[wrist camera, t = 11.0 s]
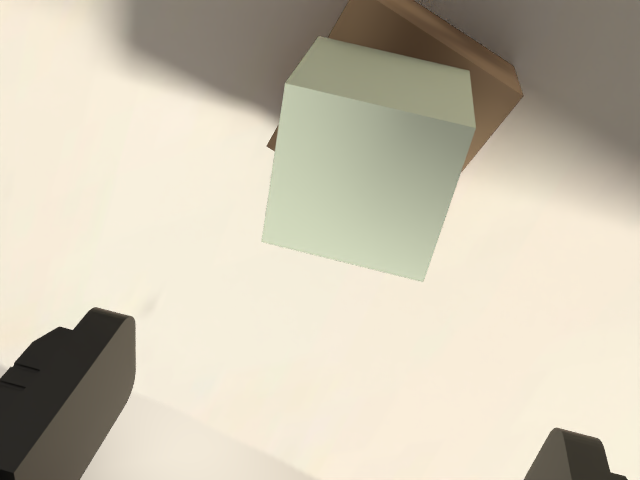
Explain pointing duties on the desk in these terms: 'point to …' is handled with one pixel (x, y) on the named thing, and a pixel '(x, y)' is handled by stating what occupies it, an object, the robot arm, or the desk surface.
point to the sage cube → (368, 156)
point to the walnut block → (433, 55)
